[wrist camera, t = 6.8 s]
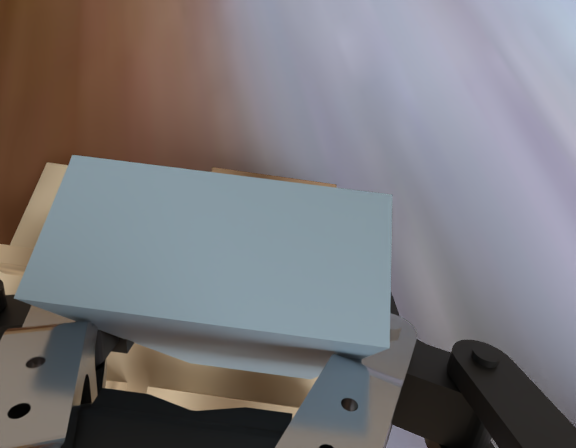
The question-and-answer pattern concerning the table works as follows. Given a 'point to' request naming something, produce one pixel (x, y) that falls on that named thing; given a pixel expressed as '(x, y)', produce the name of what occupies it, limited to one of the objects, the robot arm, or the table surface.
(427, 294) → the table surface
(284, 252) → the slate-blue rectangular block
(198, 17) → the table surface
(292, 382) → the maple rack
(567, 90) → the table surface
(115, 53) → the table surface
